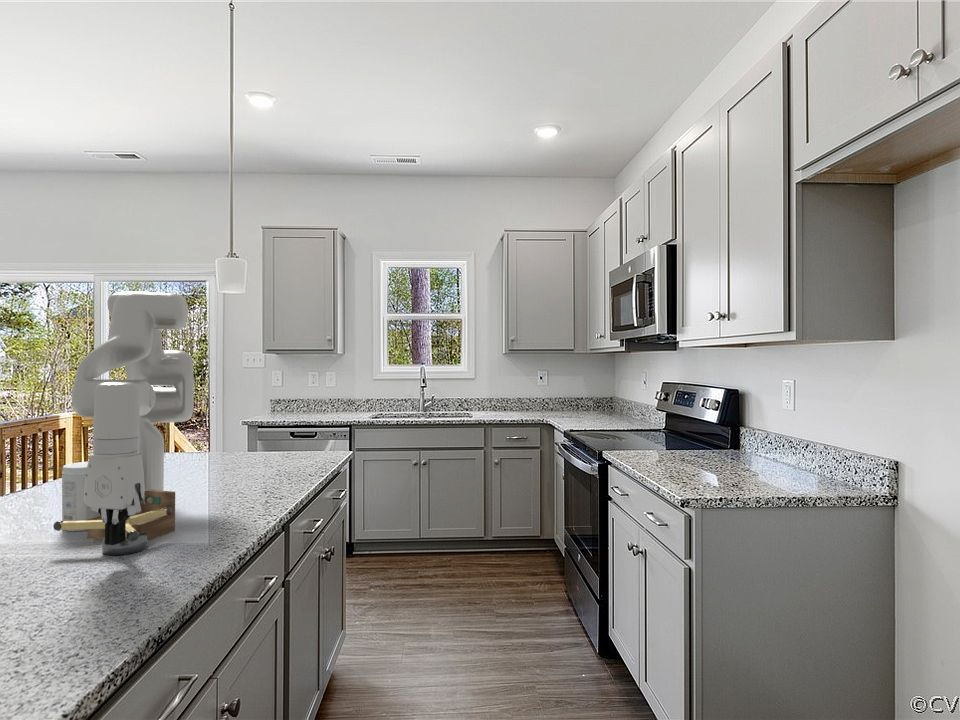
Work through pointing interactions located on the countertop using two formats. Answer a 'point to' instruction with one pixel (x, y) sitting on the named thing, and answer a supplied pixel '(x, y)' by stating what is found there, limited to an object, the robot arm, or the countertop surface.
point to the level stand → (153, 526)
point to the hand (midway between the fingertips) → (115, 542)
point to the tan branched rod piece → (133, 538)
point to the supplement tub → (75, 494)
